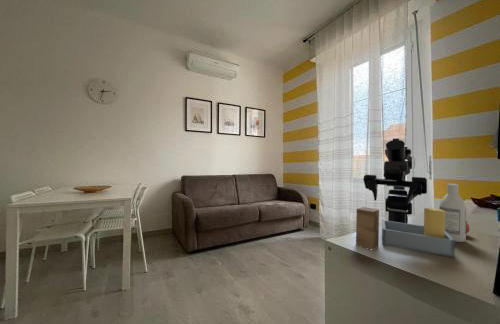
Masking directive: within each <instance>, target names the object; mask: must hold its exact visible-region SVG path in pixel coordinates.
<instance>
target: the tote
mask: <svg viewBox="0 0 500 324" xmlns="http://www.w3.org/2000/svg"><path fill="white" fill-rule="evenodd" d="M381 240H382V241H381V242H382V245H383V246H384V245H385V246H391V247H395V248H399V249H400V248H401V249H405V250H406V249H407V250H412V251H415V252H422V253H426V254H431V255H438V256H443V257H448V258H453V259H455V255H456V254H455V253H456V251H455V250H456V247H455V246H456V242H455V240H454V239H453V238H452V237H451V236H450V235H449V234H448V233H447V232H446V231H445V238H439V237H433V236H426V235H424V225H421V224H414V223H408V224H407V223H400V222H393V221H388V220H383V219H381Z"/></svg>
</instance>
